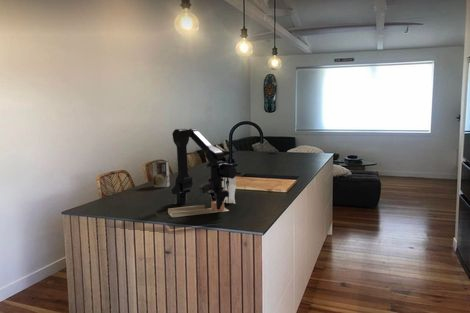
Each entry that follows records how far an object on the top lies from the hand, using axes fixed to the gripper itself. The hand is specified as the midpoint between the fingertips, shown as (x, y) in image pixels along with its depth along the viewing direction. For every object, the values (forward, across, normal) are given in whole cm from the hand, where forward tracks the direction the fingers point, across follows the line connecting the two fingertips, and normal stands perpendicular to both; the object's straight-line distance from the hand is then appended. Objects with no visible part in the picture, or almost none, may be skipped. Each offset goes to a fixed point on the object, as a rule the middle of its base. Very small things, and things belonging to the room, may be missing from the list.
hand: (216, 208), depth 190 cm
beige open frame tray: (+2, 0, -9) cm, 9 cm away
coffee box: (+2, -74, -11) cm, 75 cm away
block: (+1, 0, +1) cm, 1 cm away
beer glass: (+2, -13, +12) cm, 18 cm away
